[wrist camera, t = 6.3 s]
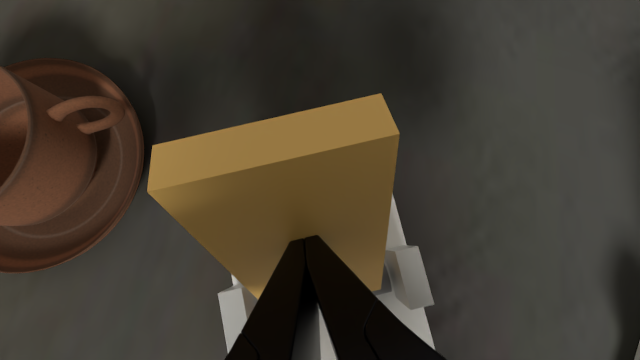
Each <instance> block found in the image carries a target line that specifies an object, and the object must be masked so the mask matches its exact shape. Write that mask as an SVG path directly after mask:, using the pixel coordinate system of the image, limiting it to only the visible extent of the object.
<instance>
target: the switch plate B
mask: <svg viewBox="0 0 640 360" xmlns="http://www.w3.org/2000/svg"><path fill="white" fill-rule="evenodd" d="M634 360H640V341H639V345H638V348H637V351H636V355H635V358H634Z"/></svg>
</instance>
